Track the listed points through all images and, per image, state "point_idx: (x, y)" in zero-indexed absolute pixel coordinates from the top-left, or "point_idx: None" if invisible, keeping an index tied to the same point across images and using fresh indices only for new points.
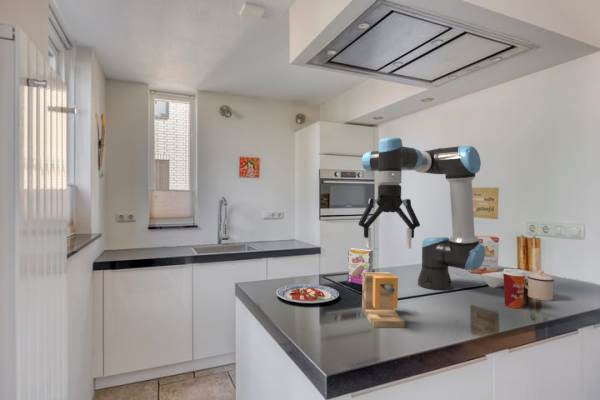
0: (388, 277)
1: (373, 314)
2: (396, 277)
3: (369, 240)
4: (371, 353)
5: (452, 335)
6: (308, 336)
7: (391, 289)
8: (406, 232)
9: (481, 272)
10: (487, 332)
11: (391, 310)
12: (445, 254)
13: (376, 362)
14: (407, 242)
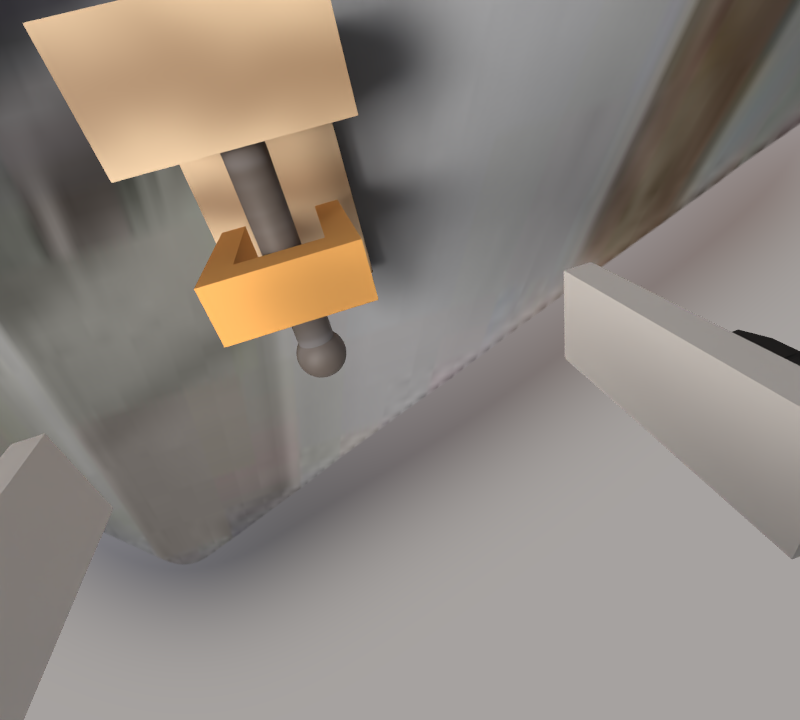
0: (314, 303)
1: (233, 226)
2: (370, 287)
3: (50, 612)
4: (267, 469)
5: (515, 285)
6: None
7: (330, 375)
8: (740, 389)
9: None
10: (637, 224)
11: (319, 134)
12: None
13: (284, 499)
14: (606, 347)
